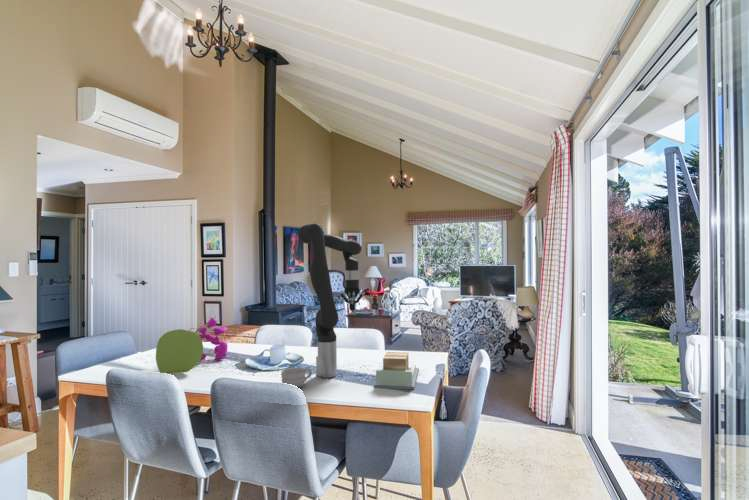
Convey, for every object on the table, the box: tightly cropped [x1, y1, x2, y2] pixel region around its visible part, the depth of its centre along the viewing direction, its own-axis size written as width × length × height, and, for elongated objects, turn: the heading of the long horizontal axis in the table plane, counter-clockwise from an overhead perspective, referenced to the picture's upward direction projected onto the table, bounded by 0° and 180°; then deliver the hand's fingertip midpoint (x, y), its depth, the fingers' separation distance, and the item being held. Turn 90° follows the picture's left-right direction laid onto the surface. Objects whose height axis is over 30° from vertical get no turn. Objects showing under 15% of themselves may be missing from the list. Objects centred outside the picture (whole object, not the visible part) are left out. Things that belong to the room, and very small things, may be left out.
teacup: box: [280, 367, 313, 389], centre depth 195 cm, size 14×11×8 cm
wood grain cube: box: [382, 351, 410, 370], centre depth 199 cm, size 12×10×11 cm
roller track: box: [373, 364, 420, 390], centre depth 205 cm, size 30×18×8 cm, turn 170°
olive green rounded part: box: [155, 317, 228, 374], centre depth 237 cm, size 30×28×35 cm
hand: (352, 310), depth 232 cm, fingers closed
